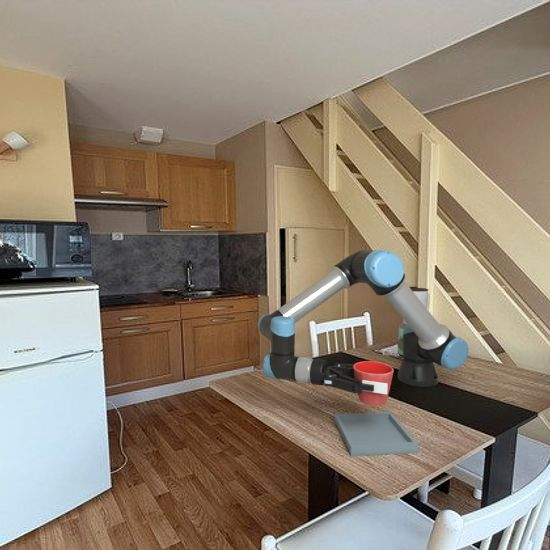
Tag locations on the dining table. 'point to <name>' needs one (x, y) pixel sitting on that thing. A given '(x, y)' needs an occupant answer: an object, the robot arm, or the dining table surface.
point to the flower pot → (373, 380)
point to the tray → (374, 434)
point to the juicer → (424, 298)
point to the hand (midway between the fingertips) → (389, 381)
